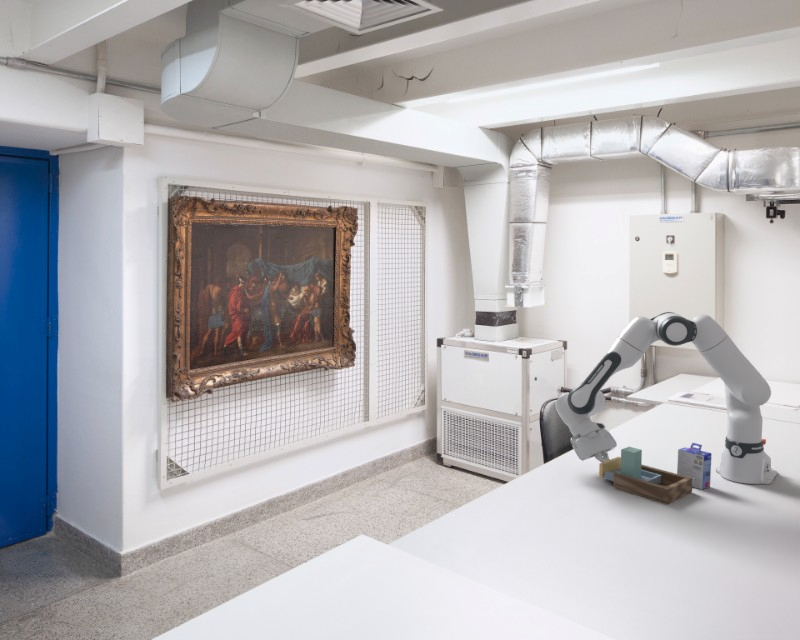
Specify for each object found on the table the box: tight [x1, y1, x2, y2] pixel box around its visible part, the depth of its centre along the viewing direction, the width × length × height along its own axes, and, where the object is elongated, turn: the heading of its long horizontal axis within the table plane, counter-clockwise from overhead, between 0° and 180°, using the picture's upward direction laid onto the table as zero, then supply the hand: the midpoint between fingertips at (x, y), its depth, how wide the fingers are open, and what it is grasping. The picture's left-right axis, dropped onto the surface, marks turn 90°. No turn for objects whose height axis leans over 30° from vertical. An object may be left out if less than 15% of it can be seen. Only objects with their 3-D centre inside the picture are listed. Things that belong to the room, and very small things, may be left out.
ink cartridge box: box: [676, 442, 712, 490], centre depth 227 cm, size 10×6×14 cm, turn 37°
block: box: [620, 446, 643, 479], centre depth 229 cm, size 5×5×10 cm
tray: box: [598, 456, 662, 484], centre depth 229 cm, size 12×17×5 cm
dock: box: [612, 463, 693, 505], centre depth 223 cm, size 16×20×5 cm
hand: (607, 464), depth 237 cm, fingers closed, pressing on tray
